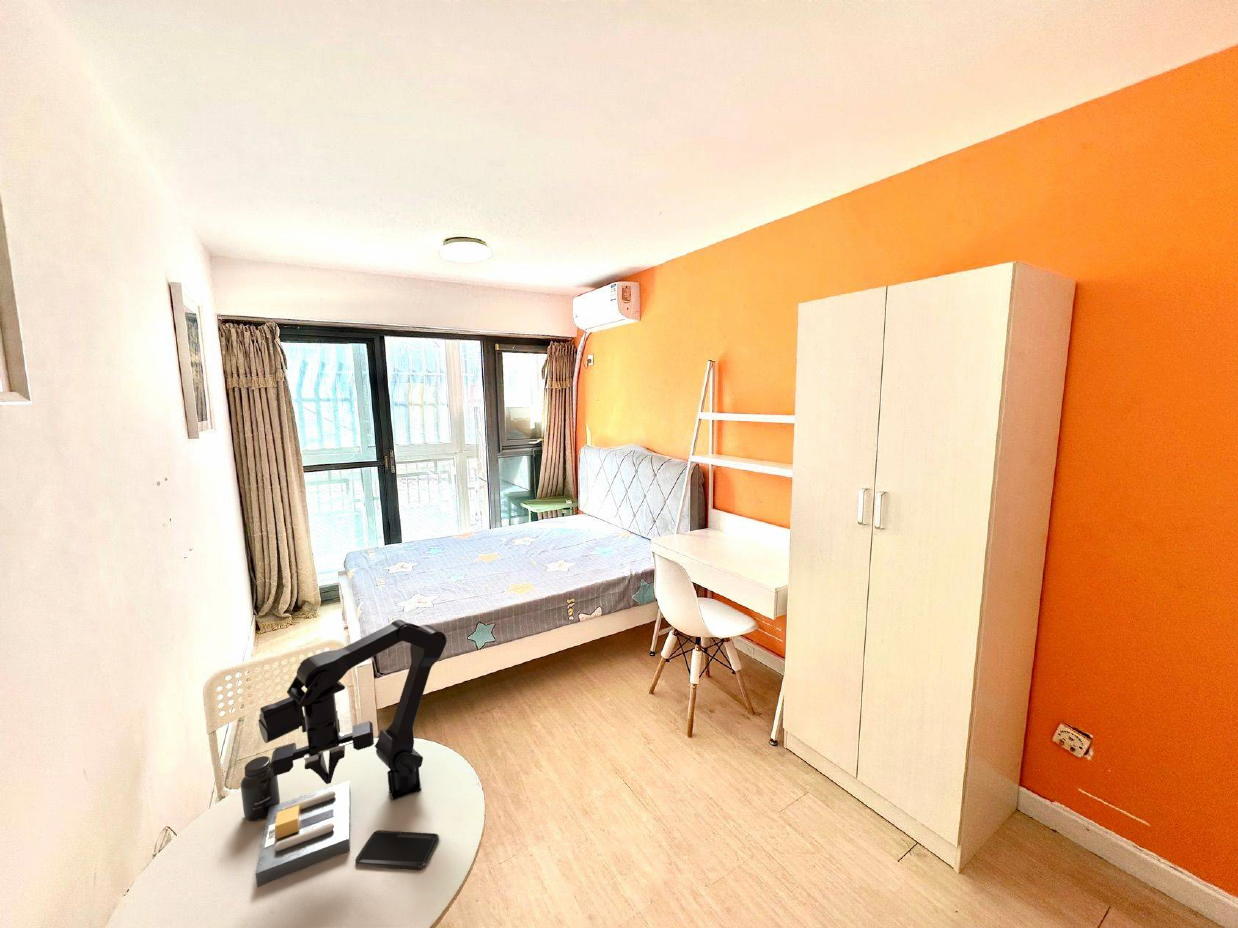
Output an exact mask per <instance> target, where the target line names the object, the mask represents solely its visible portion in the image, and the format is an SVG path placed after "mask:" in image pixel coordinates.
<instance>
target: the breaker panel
mask: <svg viewBox="0 0 1238 928" xmlns="http://www.w3.org/2000/svg"><path fill="white" fill-rule="evenodd" d="M350 783H351V782H350V780H347V781H344V782H341V783H338V784H336V785H333V786H329V787H326V788H323V789H319V790H317V791H314V792H311V793H308V794H305V795H302V796H298V797H297V798H293V799H291V800H290V799H289V800H287V801H284V802H281V803H280V804H278V805H275V806H272V807H269V811H268V816H267V817H266V821H265V826H264V831H263V835H262V841H261V845H260V849H259V855H258V861H257V865H256V868H255V869H256V870H255V879H256V880H255V881H256V886H257V888H259V887H261V886H264V885H266V884H269V883H272V882H275V881H277V880H279V879H282V878H284V877H287V876H290V875H292V874H295V873H297V872H300V871H302V870H305V869H308V868H309V867H312V866H315V865H318V864H321V863H322V862H325V861H327V860H330V859H333V858H336V857H338V856H340V855H343V854H346V853H347V852H350V851H351V798H352V797H351V792H352V791H351V784H350ZM330 791H335V793H336V795H335V797H334V798H333V799H330V800H327V801H324V802H321V803H318V804H315V805H312V806H310V807H307V808H304V809H301V810H300V814H301V820H300V828H299V831H298V832H295V833H292V834H289V835H287V836H284V837H281V838H278V839H277V838H276V831H275V823H276V818H277V812H280V811H281V810H282V808H283V807H285V806H288V805H291V804H294V803H297V802H300V801H303V800H306V799H309V798H312V797H315V796H318V795H321V794H324V793H327V792H330ZM329 823H333V824H334V829H333V830H332V831H331V832H328V833H326V834H323V835H320V836H318V837H315V838H312V839H309V840H307V841H304V842H301V843H299V844H296V845H293V846H291V847H288V848H285V849H283V850H280V851H276V850H275V845H276V843H277V842H279V841H282V840H285V839H287V838H290V837H293V836H296V835H298V834H301V833H304V832H307V831H309V830H312V829H315V828H318V827H320V826H323V825H326V824H329Z"/></svg>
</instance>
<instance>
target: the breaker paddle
mask: <svg viewBox="0 0 1238 928" xmlns="http://www.w3.org/2000/svg"><path fill="white" fill-rule="evenodd" d="M300 820H301V814H300V806H299V805H298V806H295V807H292V808H289V809H286V810H283V811H280V812H277V818H276V823H275V831H276V838H277V839H278V838H281V837H284V836H287V835H289V834H292V833H295V832H298V831H299V828H300Z"/></svg>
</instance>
